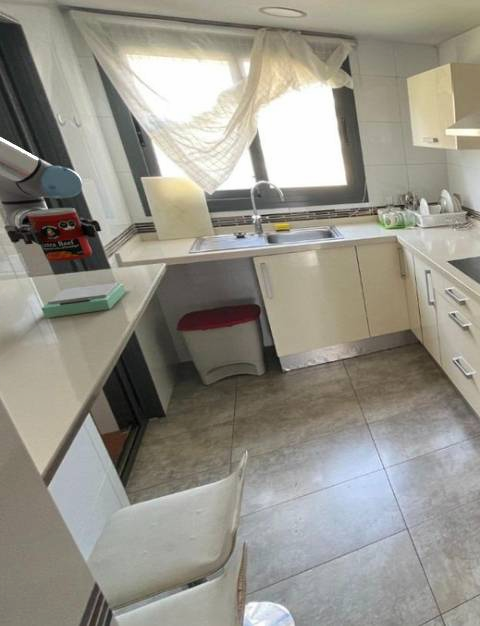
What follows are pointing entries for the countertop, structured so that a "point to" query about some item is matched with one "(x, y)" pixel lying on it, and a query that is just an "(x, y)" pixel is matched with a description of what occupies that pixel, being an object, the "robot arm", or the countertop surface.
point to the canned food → (60, 234)
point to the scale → (83, 300)
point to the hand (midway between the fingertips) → (66, 234)
